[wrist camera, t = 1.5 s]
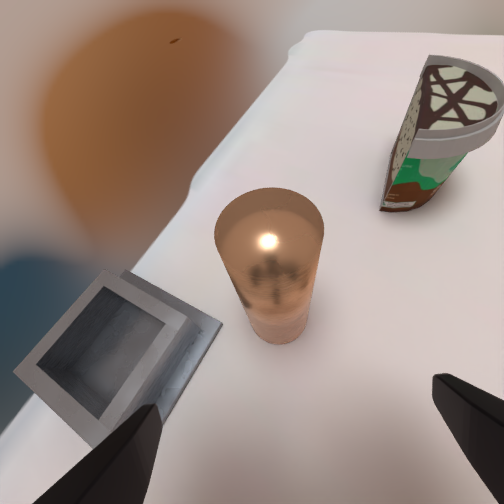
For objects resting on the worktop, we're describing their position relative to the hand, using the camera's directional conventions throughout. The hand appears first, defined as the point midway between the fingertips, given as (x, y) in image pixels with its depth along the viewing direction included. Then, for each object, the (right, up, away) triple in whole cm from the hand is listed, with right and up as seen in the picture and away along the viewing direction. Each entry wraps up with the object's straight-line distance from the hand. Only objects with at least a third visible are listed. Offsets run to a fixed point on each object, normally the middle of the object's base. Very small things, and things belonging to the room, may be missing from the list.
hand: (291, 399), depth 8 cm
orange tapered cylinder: (+1, -1, +14) cm, 15 cm away
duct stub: (-12, -4, +14) cm, 19 cm away
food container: (+17, +12, +20) cm, 29 cm away
